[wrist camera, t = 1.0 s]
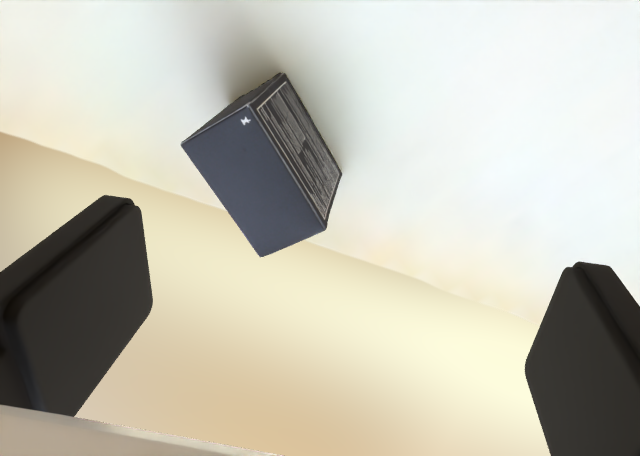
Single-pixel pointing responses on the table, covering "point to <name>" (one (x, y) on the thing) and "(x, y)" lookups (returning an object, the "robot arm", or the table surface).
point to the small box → (268, 166)
